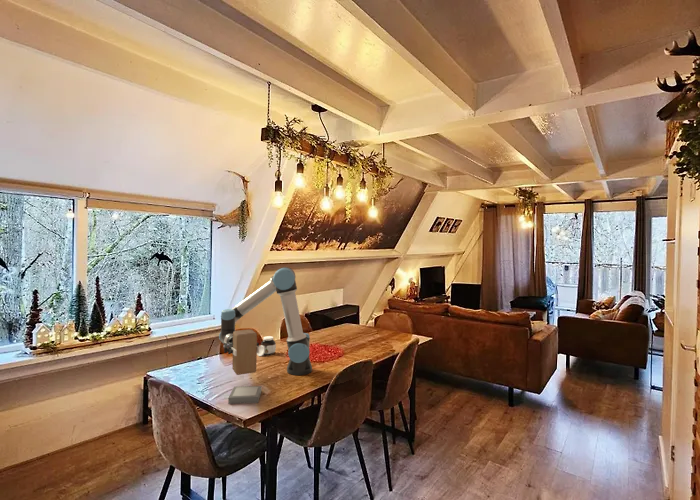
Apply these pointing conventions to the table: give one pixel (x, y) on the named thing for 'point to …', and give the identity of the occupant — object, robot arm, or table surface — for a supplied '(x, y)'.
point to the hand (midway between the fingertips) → (247, 351)
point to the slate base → (245, 394)
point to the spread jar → (267, 346)
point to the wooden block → (245, 351)
